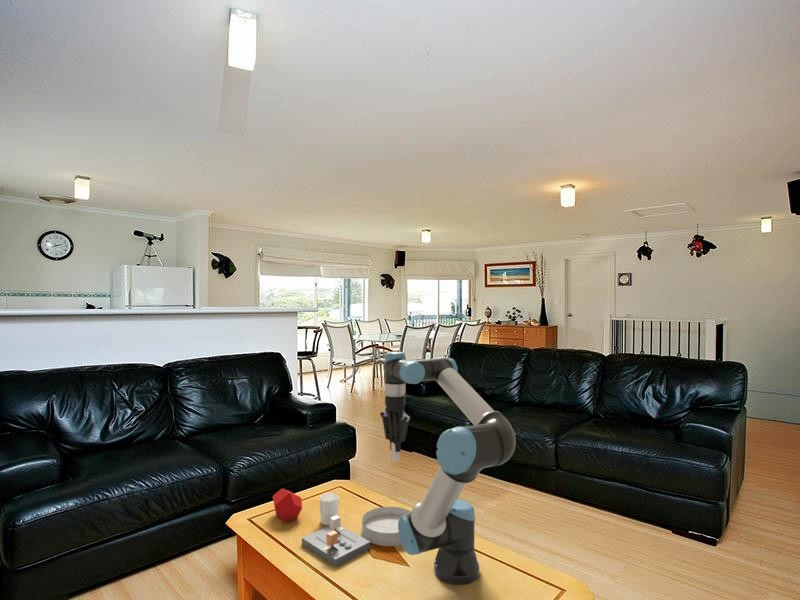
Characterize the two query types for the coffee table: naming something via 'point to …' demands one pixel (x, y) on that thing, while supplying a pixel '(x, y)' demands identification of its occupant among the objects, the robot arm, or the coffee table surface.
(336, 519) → the cream block
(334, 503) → the white cup
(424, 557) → the coffee table surface
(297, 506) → the red faceted polyhedron
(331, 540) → the fader
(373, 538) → the dish
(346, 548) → the console
